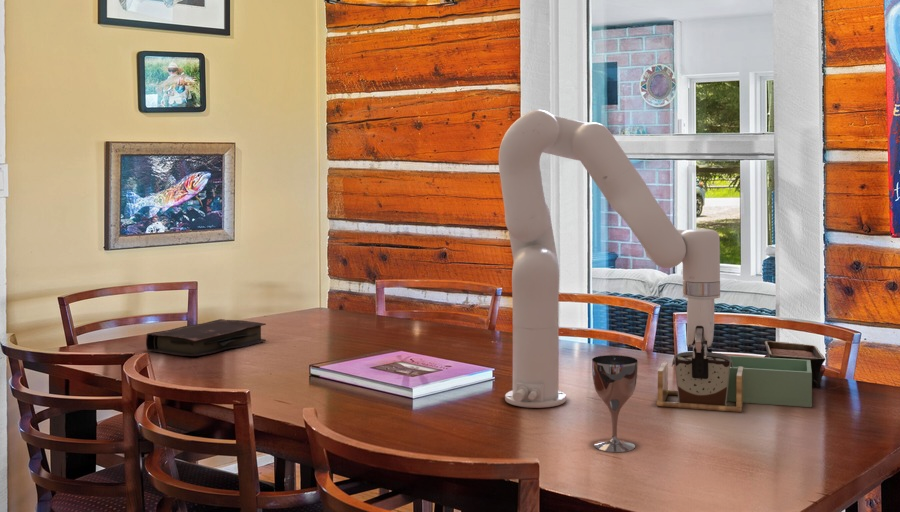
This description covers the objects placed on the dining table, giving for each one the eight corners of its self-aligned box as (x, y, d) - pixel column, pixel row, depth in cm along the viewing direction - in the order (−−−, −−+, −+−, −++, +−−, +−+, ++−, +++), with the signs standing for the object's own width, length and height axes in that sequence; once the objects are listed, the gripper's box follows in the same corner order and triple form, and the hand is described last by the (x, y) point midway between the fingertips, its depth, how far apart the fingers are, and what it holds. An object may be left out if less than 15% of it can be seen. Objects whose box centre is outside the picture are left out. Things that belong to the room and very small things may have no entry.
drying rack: (741, 412, 190) (741, 377, 190) (656, 406, 195) (657, 371, 195) (743, 399, 201) (743, 365, 201) (663, 393, 206) (663, 360, 206)
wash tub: (811, 407, 195) (811, 372, 195) (722, 401, 199) (722, 367, 199) (810, 392, 207) (810, 359, 207) (726, 387, 212) (726, 355, 212)
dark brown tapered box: (825, 383, 223) (821, 339, 225) (828, 389, 206) (824, 341, 208) (761, 384, 227) (757, 341, 229) (759, 390, 210) (756, 343, 212)
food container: (729, 399, 200) (729, 351, 200) (733, 407, 194) (733, 357, 194) (669, 398, 202) (669, 350, 202) (671, 405, 196) (671, 356, 196)
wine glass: (633, 438, 173) (633, 355, 173) (641, 452, 165) (641, 364, 165) (589, 439, 172) (589, 355, 172) (594, 453, 164) (594, 365, 164)
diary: (145, 351, 248) (145, 331, 249) (218, 335, 270) (218, 317, 270) (196, 359, 239) (196, 338, 239) (268, 342, 261) (268, 323, 261)
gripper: (687, 283, 207) (687, 363, 207) (678, 294, 191) (679, 381, 191) (722, 284, 205) (723, 365, 205) (717, 296, 189) (718, 383, 189)
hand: (702, 372), depth 198 cm, fingers open, 9 cm apart
